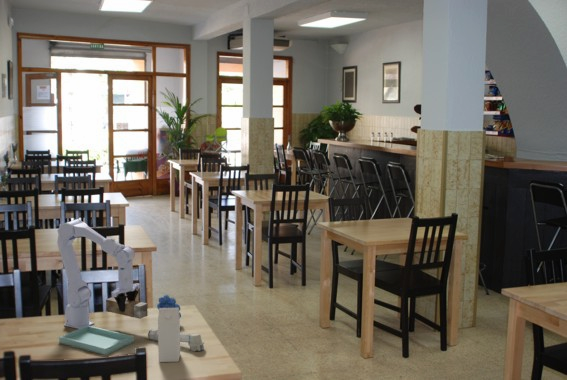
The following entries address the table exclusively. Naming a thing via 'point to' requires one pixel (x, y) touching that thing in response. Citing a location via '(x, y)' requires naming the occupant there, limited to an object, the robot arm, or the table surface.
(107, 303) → the walnut strut
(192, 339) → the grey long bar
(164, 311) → the milk carton
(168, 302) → the grapes
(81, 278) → the robot arm
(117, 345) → the tray
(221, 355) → the table surface
